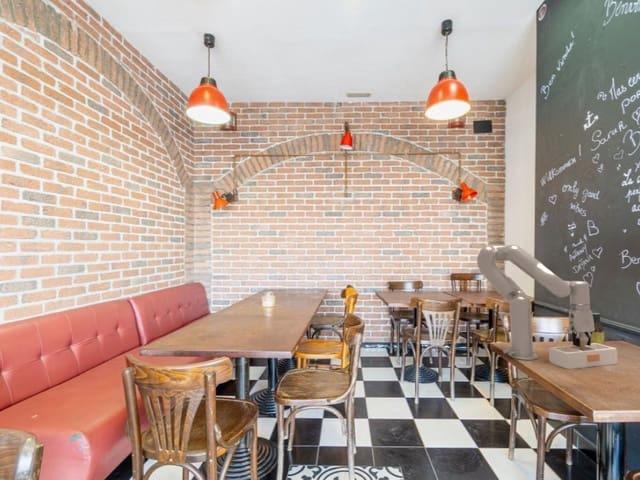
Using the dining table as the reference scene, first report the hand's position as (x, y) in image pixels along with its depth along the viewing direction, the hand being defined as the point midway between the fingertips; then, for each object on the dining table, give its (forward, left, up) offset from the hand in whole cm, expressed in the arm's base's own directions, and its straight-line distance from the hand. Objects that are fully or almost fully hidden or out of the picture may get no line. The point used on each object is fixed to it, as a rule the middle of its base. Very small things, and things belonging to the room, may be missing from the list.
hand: (581, 345), depth 164 cm
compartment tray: (0, 0, -8) cm, 8 cm away
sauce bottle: (+23, +12, -9) cm, 27 cm away
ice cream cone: (0, 0, -7) cm, 7 cm away
